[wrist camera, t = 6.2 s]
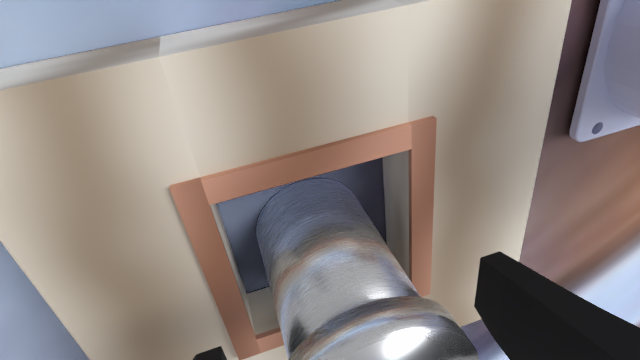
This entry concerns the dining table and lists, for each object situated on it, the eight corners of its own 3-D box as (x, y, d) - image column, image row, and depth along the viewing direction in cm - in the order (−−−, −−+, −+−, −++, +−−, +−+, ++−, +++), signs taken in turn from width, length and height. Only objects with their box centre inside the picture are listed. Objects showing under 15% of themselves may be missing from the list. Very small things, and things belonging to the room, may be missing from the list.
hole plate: (525, -38, 13) (583, -30, 11) (482, 277, 20) (512, 312, 19) (-54, 79, 10) (-104, 114, 8) (152, 393, 18) (151, 446, 16)
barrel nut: (383, 170, 15) (509, 320, 9) (354, 270, 17) (440, 439, 12) (252, 166, 14) (308, 345, 8) (238, 276, 16) (274, 477, 10)
